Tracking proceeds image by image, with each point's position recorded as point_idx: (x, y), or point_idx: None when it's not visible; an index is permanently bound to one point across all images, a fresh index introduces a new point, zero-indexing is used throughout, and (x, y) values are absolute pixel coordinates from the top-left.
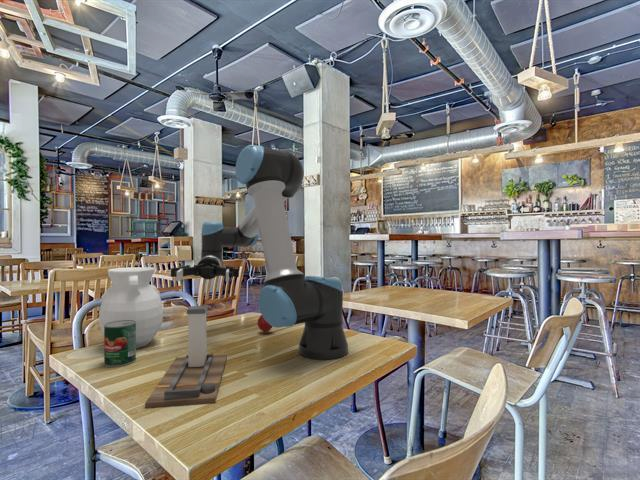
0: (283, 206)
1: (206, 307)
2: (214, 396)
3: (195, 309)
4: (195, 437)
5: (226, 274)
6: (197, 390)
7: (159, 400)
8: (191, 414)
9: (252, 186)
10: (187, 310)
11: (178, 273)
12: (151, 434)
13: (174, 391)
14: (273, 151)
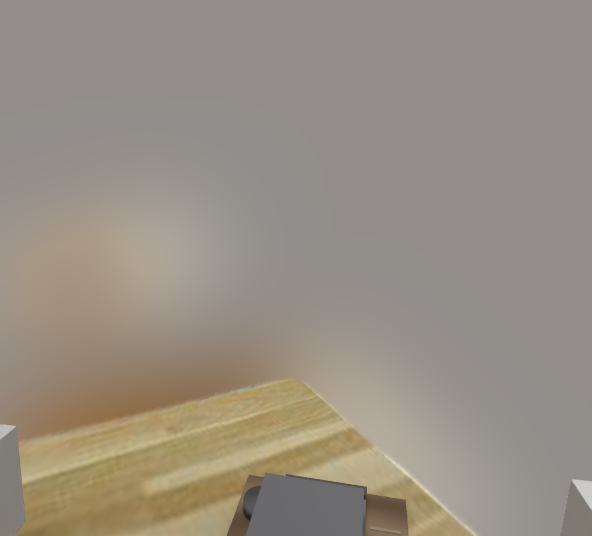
0: None
1: (254, 508)
2: (249, 480)
3: (317, 481)
4: (291, 411)
5: (11, 449)
6: (289, 475)
7: (375, 500)
8: (299, 461)
9: None
10: (360, 492)
11: (580, 499)
12: (359, 433)
13: (343, 484)
14: None
